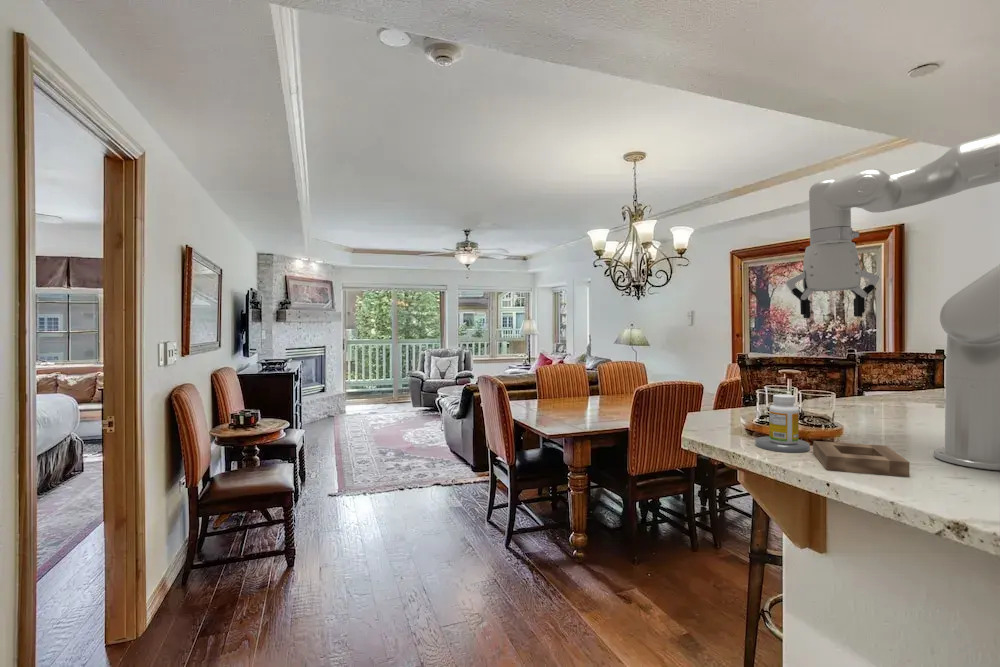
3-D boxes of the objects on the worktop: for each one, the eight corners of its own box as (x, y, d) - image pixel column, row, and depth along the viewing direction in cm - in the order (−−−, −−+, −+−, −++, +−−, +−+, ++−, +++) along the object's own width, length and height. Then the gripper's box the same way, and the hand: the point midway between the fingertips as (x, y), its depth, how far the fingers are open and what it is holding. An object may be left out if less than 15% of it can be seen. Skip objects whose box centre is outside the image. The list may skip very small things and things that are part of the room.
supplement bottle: (791, 439, 110) (791, 393, 110) (803, 445, 105) (803, 397, 105) (764, 438, 111) (765, 393, 110) (775, 444, 105) (775, 397, 105)
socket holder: (885, 458, 98) (886, 445, 98) (909, 476, 87) (909, 462, 87) (813, 453, 102) (813, 440, 102) (826, 470, 91) (826, 455, 91)
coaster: (804, 443, 111) (804, 438, 111) (814, 454, 101) (814, 449, 101) (753, 439, 114) (753, 435, 114) (757, 450, 105) (757, 445, 105)
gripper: (871, 237, 112) (872, 316, 113) (782, 244, 118) (783, 318, 118) (884, 232, 105) (886, 315, 105) (788, 239, 111) (790, 318, 111)
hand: (832, 317), depth 112 cm, fingers open, 9 cm apart
